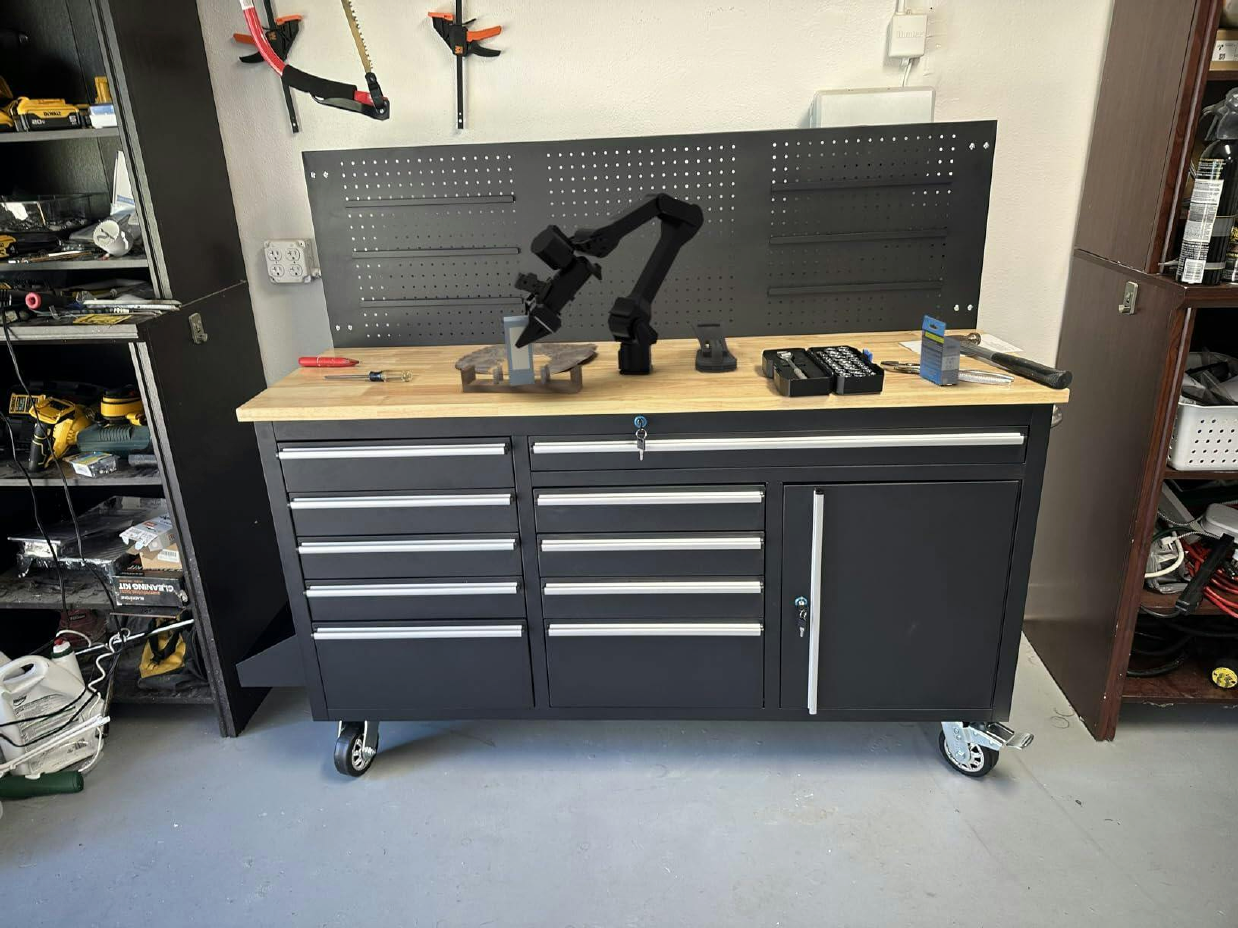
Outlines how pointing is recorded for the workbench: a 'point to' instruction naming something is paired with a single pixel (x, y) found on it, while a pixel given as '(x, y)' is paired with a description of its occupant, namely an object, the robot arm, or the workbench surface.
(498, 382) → the rail
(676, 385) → the workbench surface
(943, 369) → the label tape box
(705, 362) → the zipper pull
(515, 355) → the frame block
